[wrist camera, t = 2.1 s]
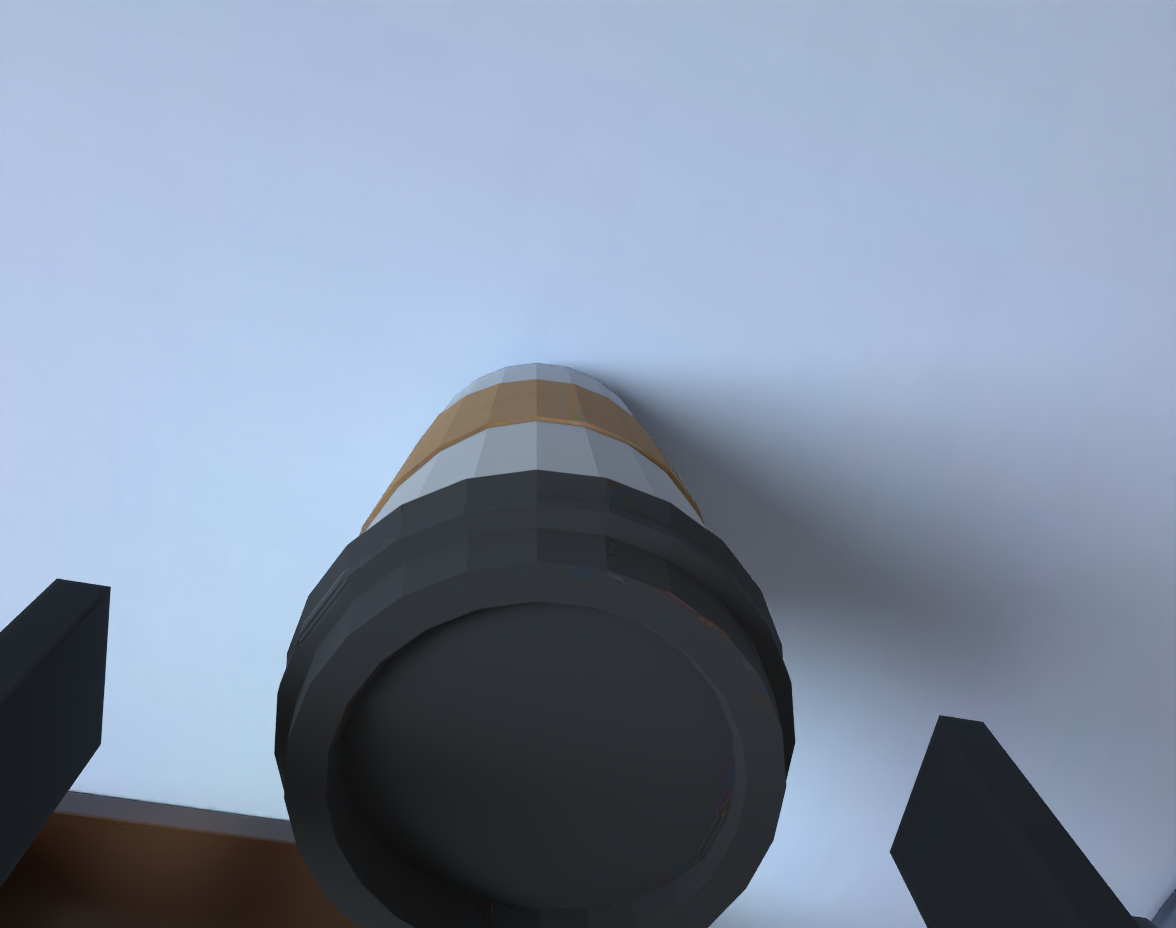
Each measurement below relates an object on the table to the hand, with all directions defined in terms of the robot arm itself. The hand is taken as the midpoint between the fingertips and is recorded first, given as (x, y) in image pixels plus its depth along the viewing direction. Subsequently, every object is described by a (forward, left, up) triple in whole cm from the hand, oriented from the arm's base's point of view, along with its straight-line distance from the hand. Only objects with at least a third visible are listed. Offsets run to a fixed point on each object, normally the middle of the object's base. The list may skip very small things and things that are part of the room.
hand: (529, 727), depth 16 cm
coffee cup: (0, 0, -14) cm, 14 cm away
